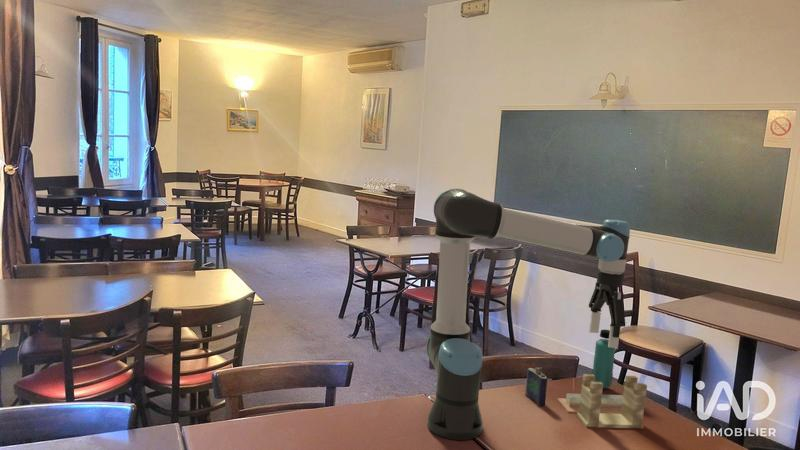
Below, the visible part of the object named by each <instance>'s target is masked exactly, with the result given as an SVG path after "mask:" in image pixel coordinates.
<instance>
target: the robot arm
mask: <svg viewBox="0 0 800 450" xmlns="http://www.w3.org/2000/svg"><path fill="white" fill-rule="evenodd" d="M433 214H434V218H435V237H436V238H437V239H438V240H439V243H440V244H439V260H438V261H439V262H438V274H437V275H438V276H437V279H438V281H437V297H436V315H435V316H436V317H435V318H436V319H435V321H434V322H433V323H432V324H431V325H430V331H429V332H430V333H429V336H428V338H427V342H426V352H427V356H428V359H429V360H430V362H431V363H432V365H433V368H434V369H435V372H436V374H437V375H436V377H437V380H436V390H435V391H436V393H435V399H434V400H433V403H432V406H431V408H430V411H429V412H428V414H427V423H426V424H427V427H428V429H429V430H430V432H432V433H433V434H435V435H436V436H438V437H441V438H444V439H449V440H453V441H467V440H473V439H476V438H477V437H479V436H480V435H481V434H482V432H483V422H484V421H483V419H482V414H481V409H480V405H479V396H480V386H481V385H480V384H481V373H482V366H483V351H482V348H481V347H480V346H479V345H478V344H477V343H475V342H471V340H470V339H471V338H470V336H471V335H470V334H471V328H470V326H469V325H468V324H467V323H466V319H467V318H466V316H467V315H466V314H467V298H468V283H469V265H470V249H471V242H472V241H474V240H475V239H476V237H480V238H486V239H490V240H493V239H494V240H495V238H498V237H499V238H503V239H508V240H513V241H518V242H521V243H522V242H523V243H527V244H531V245H535V246H536V245H537V246H541V247H545V248H551V249H553V250H554V249H555V250H559V251H565V252H568V253H574V254H577V255H583V256H587V257H591V258H596V259H598V265H597V268H598V271H597V278H596V282H595V287H594V290H593V293H592V294H591V297H590V301H589V303H588V308H590V313H591V314H590V323H589V331H588V332H589V333H593V334H596V333H597V334H599V332H600V331H599V329H600V322H601V314H602V313H601V312H602V308H603V306H604V305H605V303H606V305H607V307H608V310H609V315H610V320H611V323H610V325H609V330H610V334H609V339H608V340H609V342H608V347H610V348H615V349H618V348H619V341H620V334H621V328H622V327H624V328H625V327H626V318H625V317H626V316H625V315H626V314H625V305H624V292H623V291H621V292H620V291H619V287H622V286H623V285H624V281H625V274H624V272H625V271H626V265H627V262H628V261H627V256H628V249H629V248H628V247H629V240H630V234H631V233H630V231H631V225H630V223H629V222H628V221H625V220H620V219H605V220H604V221H603V224H602V225H600V226H599V225H597V226H596V225H583V224H577V223H576V224H572V223H569V222H564V221H560V220H555V219H550V218H546V217H543V216H538V215H537V216H536V215H534V214H530V213H529V214H528V213H525V212H524V213H523V212H519V211H515V210H511V209H506V208H504V207H503V205H502V204H501V203H498V202H493V201H490V200H488V199H485V198H483V197H480V196H478V195H476V194H474V193H471V192H469V191H466V190H465V189H462V188H450V189H446V190H444V191H443V192H441V193H440V194H438V196H437V197H436V199H435V200H434V204H433Z"/></svg>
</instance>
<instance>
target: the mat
mask: <svg viewBox="0 0 800 450" xmlns="http://www.w3.org/2000/svg"><path fill="white" fill-rule="evenodd" d="M557 401H558V402H559V403H560V404H561V406H562V407H563V408H564V410H565V411H566V413H572V414H574V413H575V414H577V413H579V407H569V406H568V405H567V403H566V398H561V397H559V398H558V397H557ZM600 413H610V414H621V408H600Z"/></svg>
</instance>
